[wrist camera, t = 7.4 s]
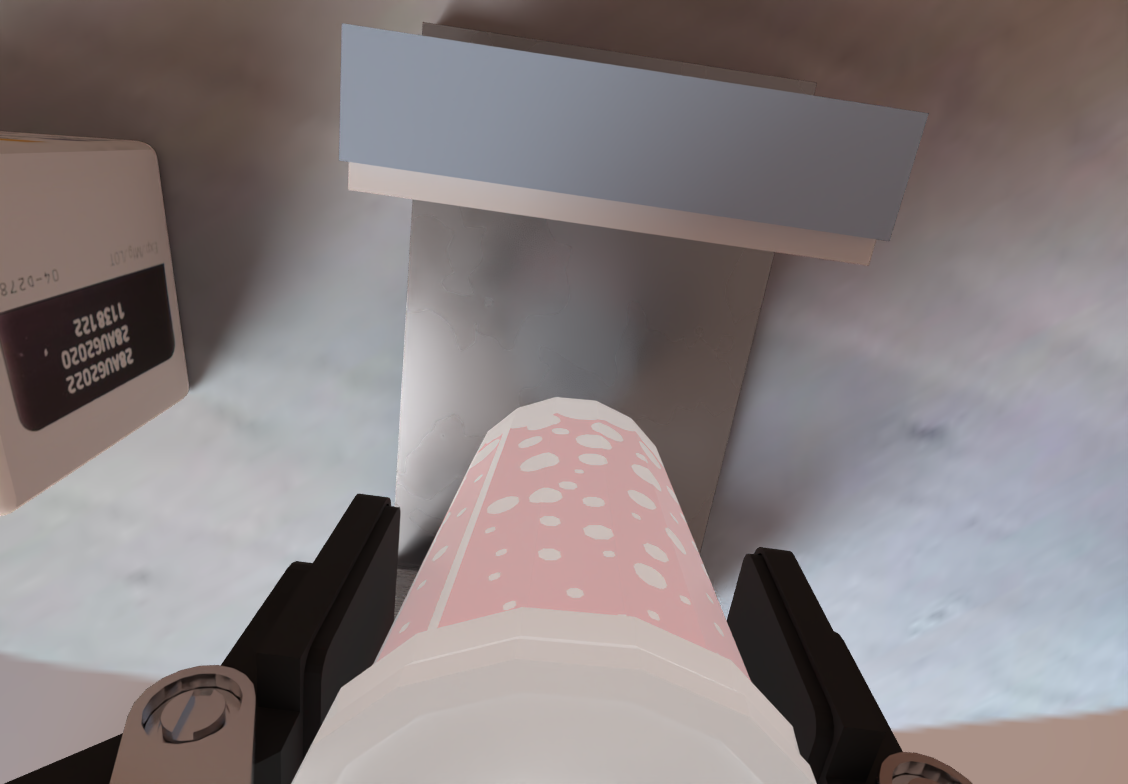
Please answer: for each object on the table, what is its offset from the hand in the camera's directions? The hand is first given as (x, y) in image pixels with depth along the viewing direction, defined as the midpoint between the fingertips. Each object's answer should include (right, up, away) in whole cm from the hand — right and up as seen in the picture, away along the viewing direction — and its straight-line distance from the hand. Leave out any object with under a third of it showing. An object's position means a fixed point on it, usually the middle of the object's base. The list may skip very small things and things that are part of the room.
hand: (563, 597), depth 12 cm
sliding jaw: (+1, +10, +6) cm, 11 cm away
